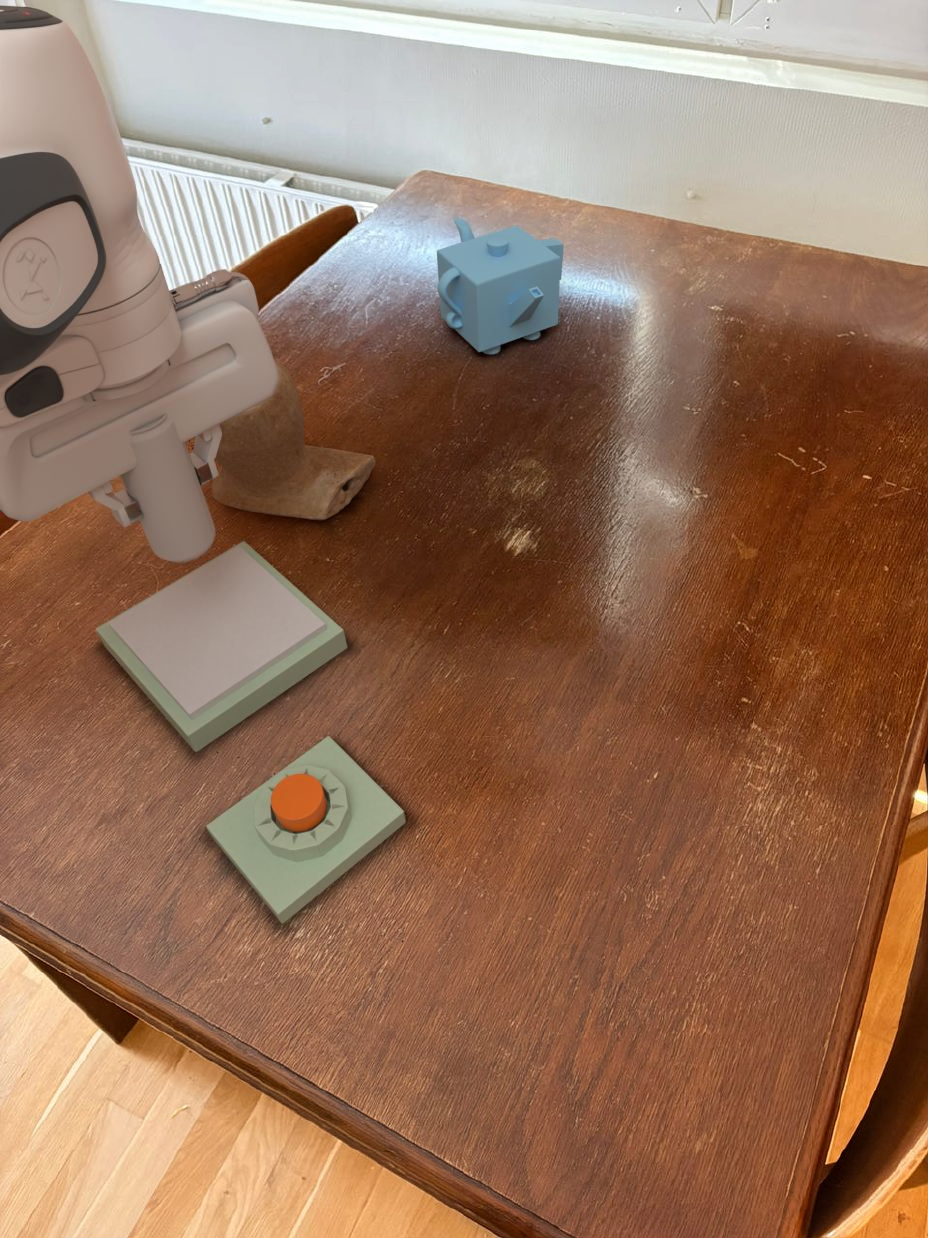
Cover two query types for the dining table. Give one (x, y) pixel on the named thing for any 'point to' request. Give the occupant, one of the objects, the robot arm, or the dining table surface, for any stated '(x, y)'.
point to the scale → (221, 643)
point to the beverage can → (168, 494)
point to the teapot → (499, 286)
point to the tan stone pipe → (283, 462)
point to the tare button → (299, 802)
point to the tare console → (307, 831)
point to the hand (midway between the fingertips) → (167, 498)
